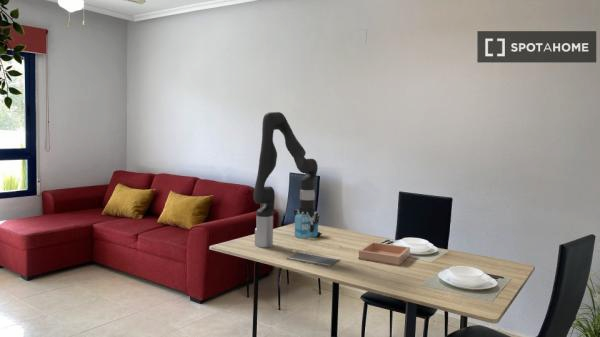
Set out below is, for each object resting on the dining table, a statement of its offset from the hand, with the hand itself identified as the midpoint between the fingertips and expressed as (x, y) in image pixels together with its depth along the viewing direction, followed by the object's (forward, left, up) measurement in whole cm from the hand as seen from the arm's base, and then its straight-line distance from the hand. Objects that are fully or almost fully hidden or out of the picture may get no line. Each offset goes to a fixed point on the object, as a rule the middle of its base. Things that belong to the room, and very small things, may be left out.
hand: (306, 231), depth 229 cm
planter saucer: (+34, +23, -14) cm, 44 cm away
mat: (+4, 0, -14) cm, 15 cm away
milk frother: (-21, +43, -15) cm, 50 cm away
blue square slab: (0, 0, -3) cm, 3 cm away
